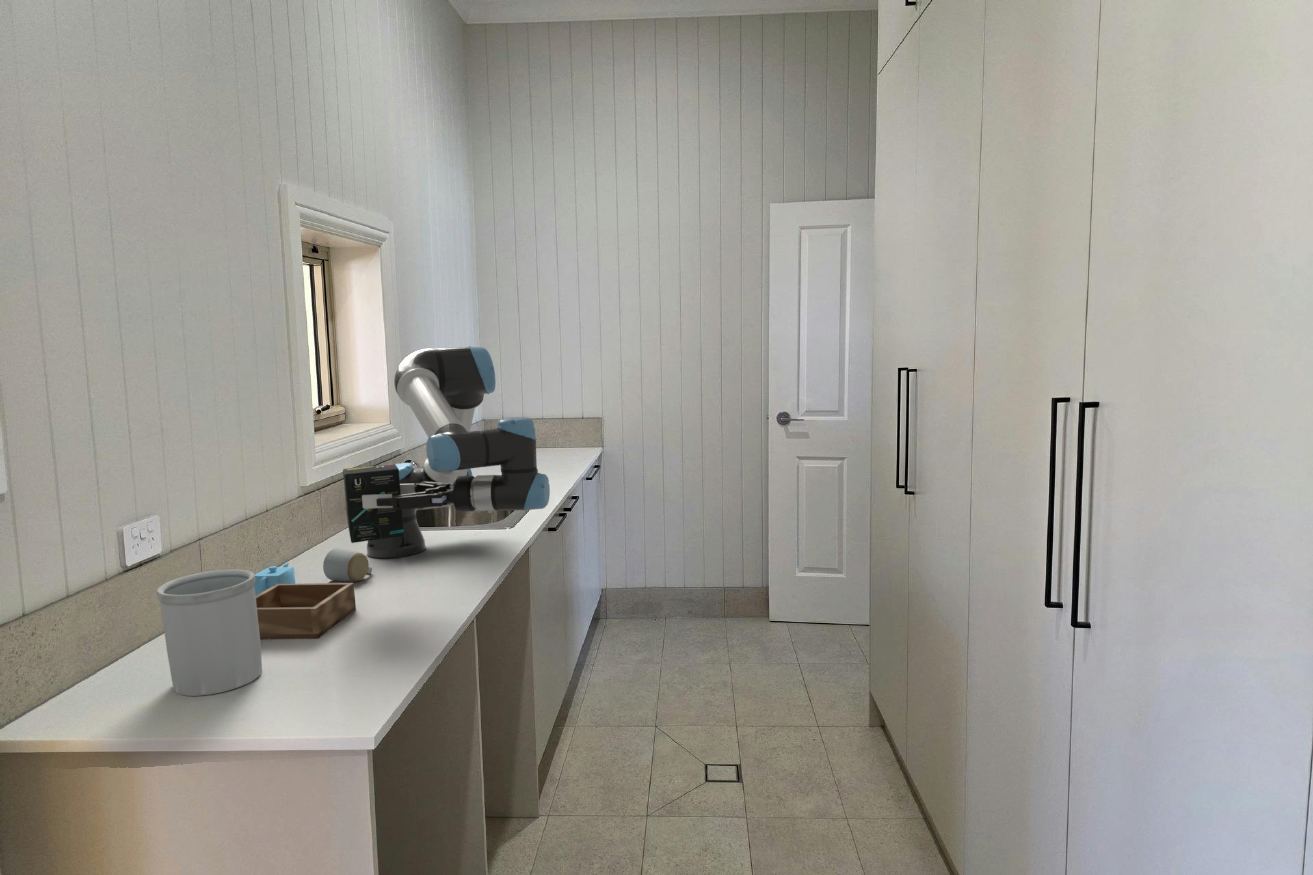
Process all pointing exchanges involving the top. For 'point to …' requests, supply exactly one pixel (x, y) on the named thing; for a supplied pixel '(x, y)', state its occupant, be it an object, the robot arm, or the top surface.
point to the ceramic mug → (346, 565)
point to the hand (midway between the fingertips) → (374, 496)
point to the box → (303, 609)
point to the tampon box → (372, 520)
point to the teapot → (273, 577)
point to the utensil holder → (211, 631)
